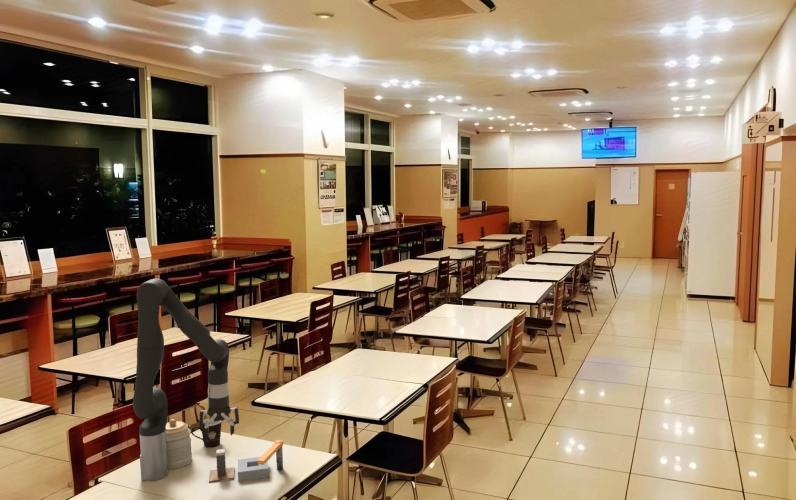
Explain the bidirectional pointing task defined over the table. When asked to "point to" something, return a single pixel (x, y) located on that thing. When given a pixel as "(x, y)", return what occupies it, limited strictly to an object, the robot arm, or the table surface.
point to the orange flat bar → (270, 452)
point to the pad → (215, 478)
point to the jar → (178, 444)
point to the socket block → (251, 469)
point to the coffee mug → (210, 434)
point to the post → (279, 459)
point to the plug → (221, 462)
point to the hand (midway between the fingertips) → (219, 435)
